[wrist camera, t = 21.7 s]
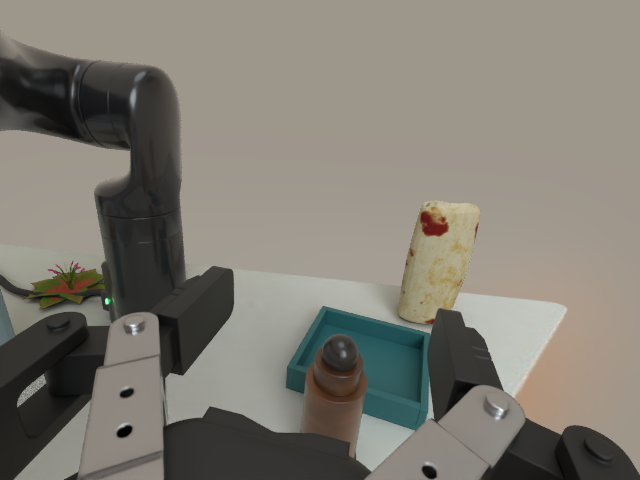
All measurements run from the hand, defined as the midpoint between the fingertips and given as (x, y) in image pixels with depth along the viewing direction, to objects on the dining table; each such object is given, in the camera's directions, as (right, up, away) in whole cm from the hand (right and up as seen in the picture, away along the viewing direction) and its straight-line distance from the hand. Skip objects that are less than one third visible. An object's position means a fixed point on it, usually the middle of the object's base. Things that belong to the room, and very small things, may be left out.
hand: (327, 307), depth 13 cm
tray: (+5, -14, +31) cm, 34 cm away
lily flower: (-40, -6, +41) cm, 57 cm away
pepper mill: (0, -18, +19) cm, 26 cm away
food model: (+17, -10, +42) cm, 47 cm away
